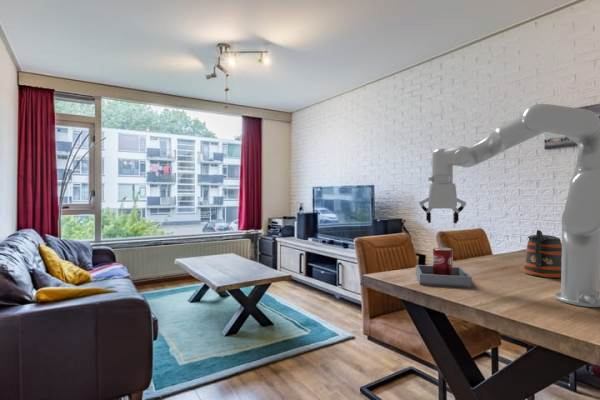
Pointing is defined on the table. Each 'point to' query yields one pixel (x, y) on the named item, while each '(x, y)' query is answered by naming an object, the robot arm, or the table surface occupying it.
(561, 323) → the table surface
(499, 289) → the table surface
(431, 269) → the tray
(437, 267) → the soda can
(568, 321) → the table surface
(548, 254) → the beer stein
